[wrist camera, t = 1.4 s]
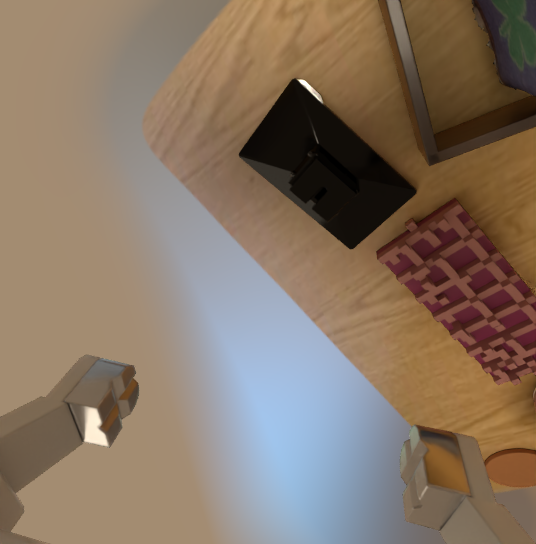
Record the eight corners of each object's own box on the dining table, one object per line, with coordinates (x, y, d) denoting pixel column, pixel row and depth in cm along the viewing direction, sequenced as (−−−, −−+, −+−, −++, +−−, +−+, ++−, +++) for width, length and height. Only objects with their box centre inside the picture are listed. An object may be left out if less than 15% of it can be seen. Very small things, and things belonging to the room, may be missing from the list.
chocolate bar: (449, 191, 27) (456, 201, 26) (573, 342, 32) (585, 358, 30) (371, 246, 31) (372, 257, 29) (493, 374, 36) (500, 390, 34)
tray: (633, -206, 16) (704, -268, 13) (635, 66, 21) (687, 70, 18) (366, -41, 21) (370, -57, 18) (419, 150, 26) (429, 166, 23)
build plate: (238, 153, 29) (221, 170, 25) (297, 72, 25) (287, 77, 21) (351, 248, 31) (351, 277, 27) (420, 188, 28) (431, 211, 24)
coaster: (549, 445, 39) (551, 450, 39) (555, 481, 42) (557, 485, 42) (478, 451, 42) (480, 455, 42) (489, 484, 45) (490, 488, 45)
